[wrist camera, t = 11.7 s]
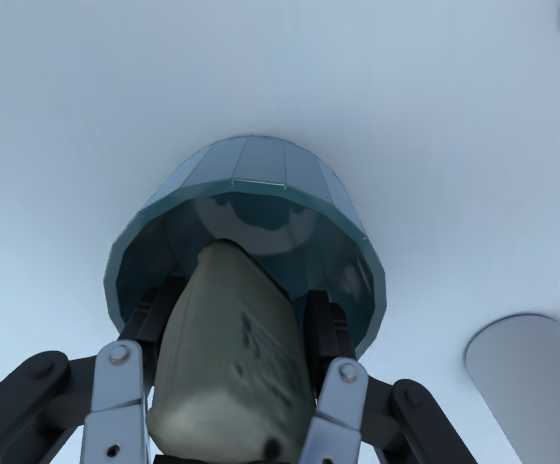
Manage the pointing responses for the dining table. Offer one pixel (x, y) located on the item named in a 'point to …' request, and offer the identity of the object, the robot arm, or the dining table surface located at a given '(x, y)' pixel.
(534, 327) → the cup
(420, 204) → the dining table surface
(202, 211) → the teal open cylinder
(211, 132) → the dining table surface
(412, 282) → the dining table surface
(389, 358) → the dining table surface
